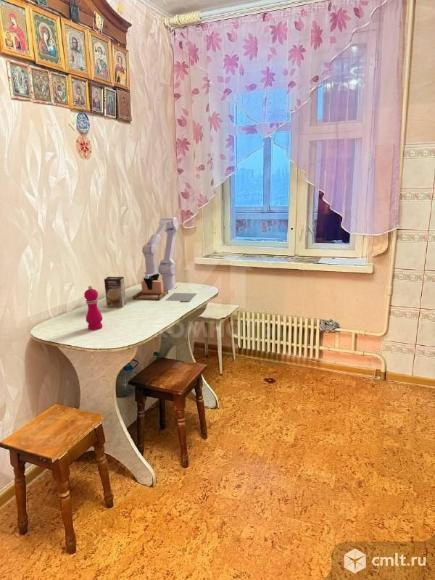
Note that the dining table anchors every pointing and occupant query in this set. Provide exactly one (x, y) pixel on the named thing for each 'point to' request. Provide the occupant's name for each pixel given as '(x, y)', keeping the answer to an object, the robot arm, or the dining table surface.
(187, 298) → the mat
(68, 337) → the dining table surface
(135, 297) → the rack
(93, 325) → the pepper mill
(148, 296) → the offcut top
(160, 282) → the salmon orange block
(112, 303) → the coffee box
